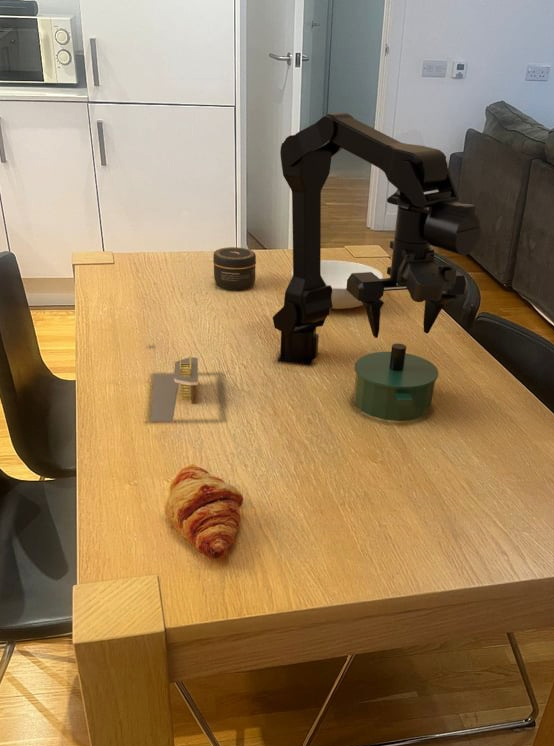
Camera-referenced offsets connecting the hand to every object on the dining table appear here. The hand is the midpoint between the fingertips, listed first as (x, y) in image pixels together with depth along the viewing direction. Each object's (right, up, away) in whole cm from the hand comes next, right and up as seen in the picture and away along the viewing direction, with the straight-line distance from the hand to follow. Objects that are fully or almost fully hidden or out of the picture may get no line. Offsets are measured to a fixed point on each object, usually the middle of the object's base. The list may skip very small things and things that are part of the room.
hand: (400, 334), depth 125 cm
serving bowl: (-9, +18, +49) cm, 53 cm away
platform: (-36, -9, +6) cm, 38 cm away
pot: (-1, -11, +7) cm, 13 cm away
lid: (0, -5, +4) cm, 7 cm away
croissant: (-29, -30, -24) cm, 48 cm away
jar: (-33, +24, +56) cm, 69 cm away
